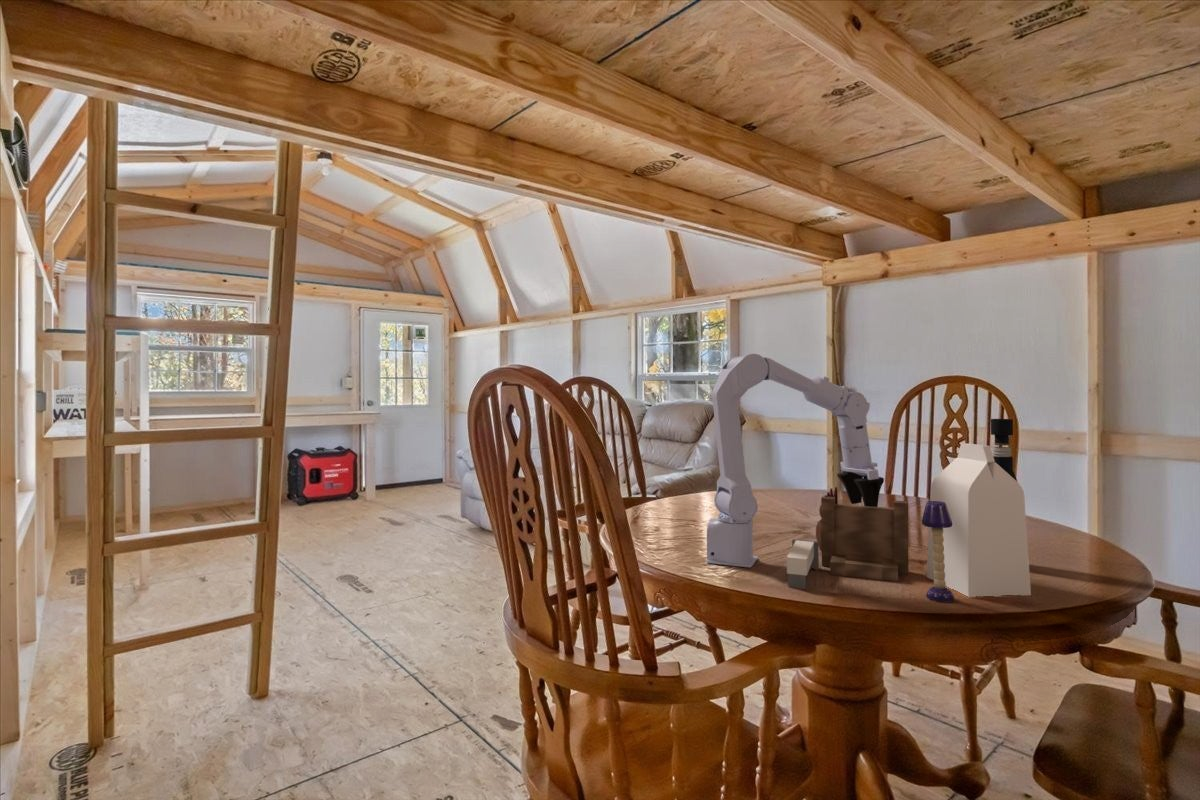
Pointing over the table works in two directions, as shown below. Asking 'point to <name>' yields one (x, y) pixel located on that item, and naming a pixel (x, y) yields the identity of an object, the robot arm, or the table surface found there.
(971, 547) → the milk
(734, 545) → the robot arm
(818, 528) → the wooden figurine
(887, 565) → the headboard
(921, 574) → the table surface
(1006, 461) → the wine bottle
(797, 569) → the beige block
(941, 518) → the toy lamp
